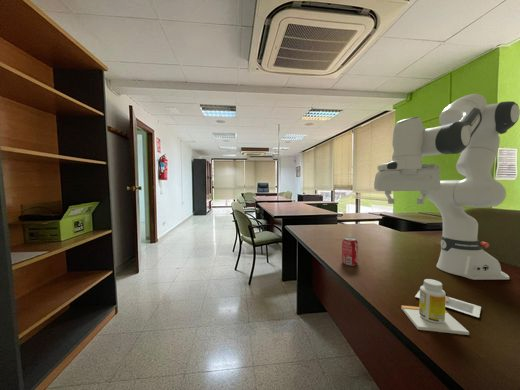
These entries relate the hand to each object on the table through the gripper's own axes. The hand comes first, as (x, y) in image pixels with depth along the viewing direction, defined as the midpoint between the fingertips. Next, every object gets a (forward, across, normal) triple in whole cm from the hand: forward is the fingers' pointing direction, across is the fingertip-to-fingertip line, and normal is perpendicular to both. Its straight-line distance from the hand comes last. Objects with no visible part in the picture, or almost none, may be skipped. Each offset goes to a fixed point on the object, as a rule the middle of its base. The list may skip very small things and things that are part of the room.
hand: (405, 203), depth 78 cm
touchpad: (+31, -8, +10) cm, 34 cm away
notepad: (+30, +1, +20) cm, 36 cm away
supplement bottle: (+30, +2, +20) cm, 36 cm away
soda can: (+31, +14, -20) cm, 39 cm away
